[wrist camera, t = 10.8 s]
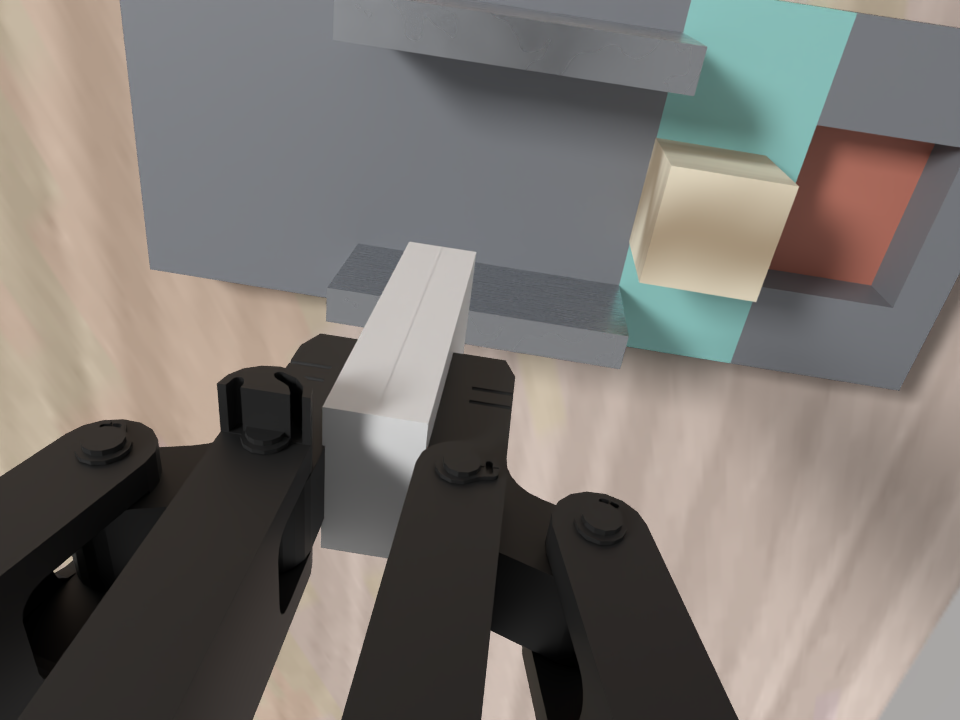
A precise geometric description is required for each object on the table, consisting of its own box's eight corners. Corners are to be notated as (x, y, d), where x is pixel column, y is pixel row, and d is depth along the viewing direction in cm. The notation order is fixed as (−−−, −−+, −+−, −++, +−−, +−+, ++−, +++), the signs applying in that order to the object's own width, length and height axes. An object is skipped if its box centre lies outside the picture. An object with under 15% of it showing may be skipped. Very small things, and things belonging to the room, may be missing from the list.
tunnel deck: (148, -97, 29) (19, -115, 22) (1028, 38, 28) (1182, 64, 21) (179, 247, 36) (90, 314, 29) (874, 359, 36) (950, 455, 29)
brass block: (655, 137, 28) (671, 165, 25) (766, 155, 28) (799, 186, 25) (628, 241, 31) (639, 282, 27) (730, 258, 31) (755, 302, 27)
